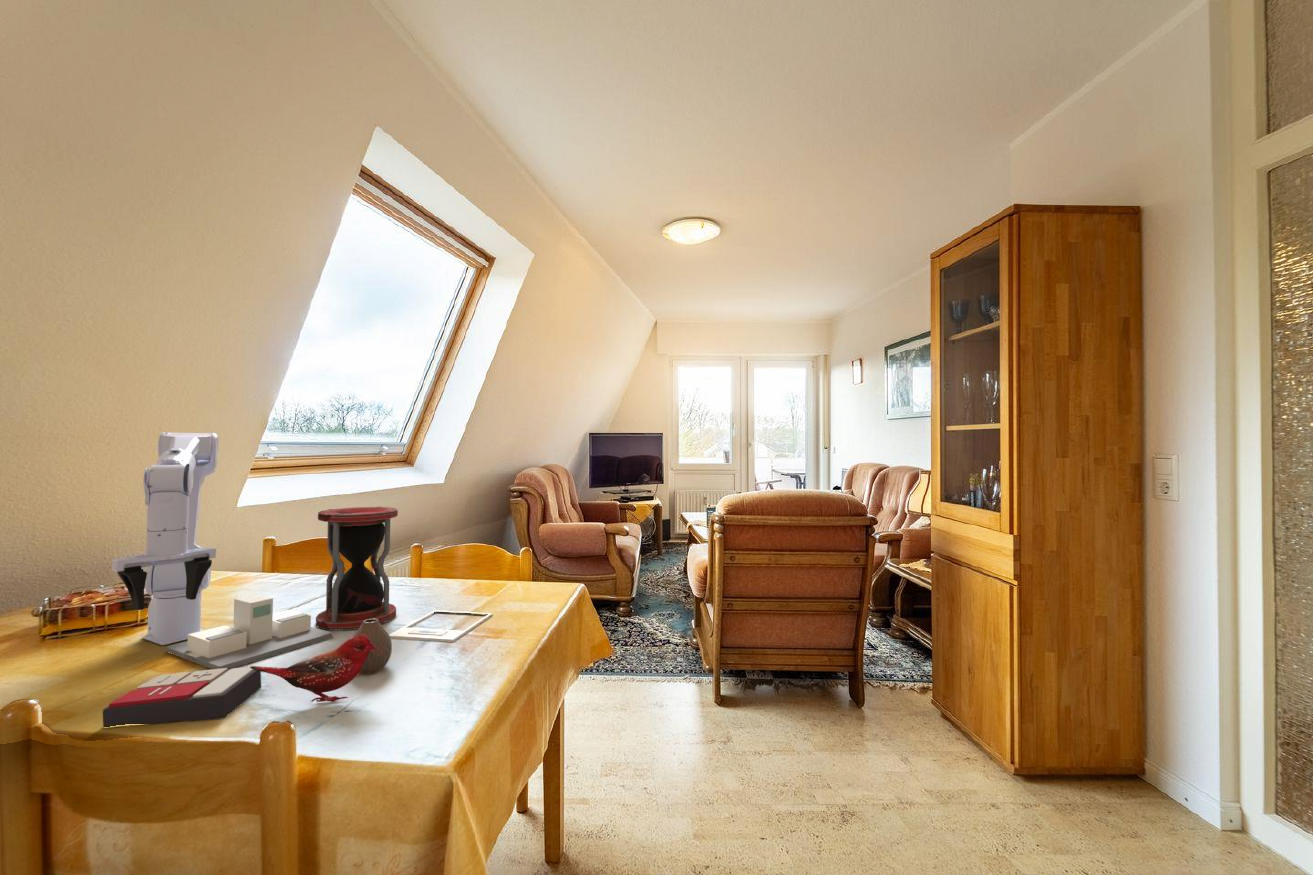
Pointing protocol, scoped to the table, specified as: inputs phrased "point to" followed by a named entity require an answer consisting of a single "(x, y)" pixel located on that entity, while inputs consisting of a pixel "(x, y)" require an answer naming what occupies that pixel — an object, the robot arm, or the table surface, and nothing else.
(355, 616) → the hourglass
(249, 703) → the table surface
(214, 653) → the rail board
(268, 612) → the module block
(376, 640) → the vase
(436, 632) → the photo frame
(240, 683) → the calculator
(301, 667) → the decorative bird figurine
